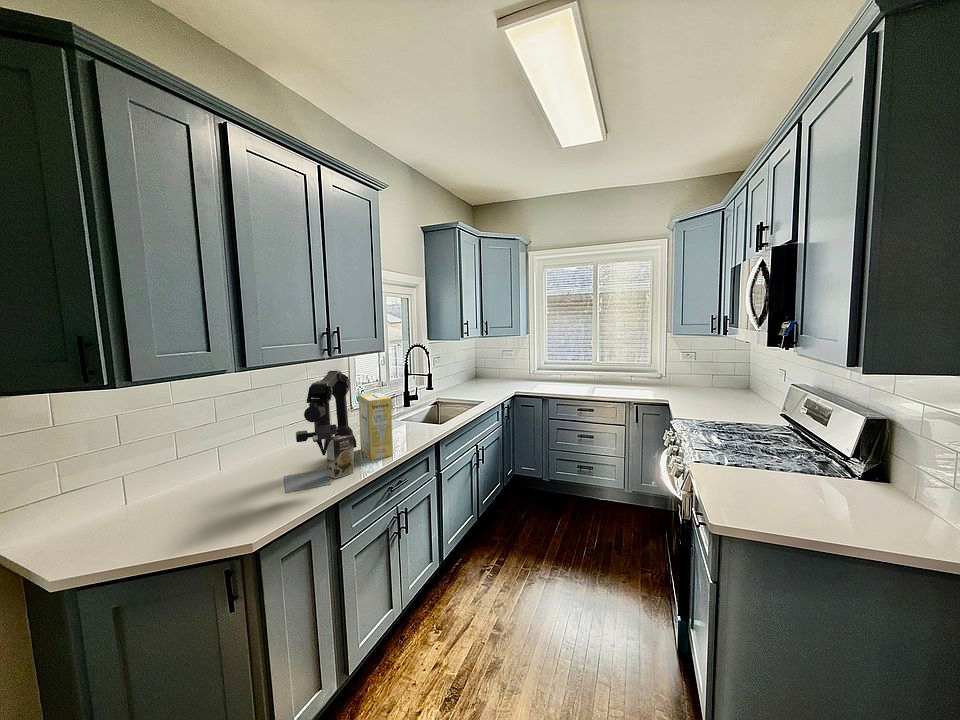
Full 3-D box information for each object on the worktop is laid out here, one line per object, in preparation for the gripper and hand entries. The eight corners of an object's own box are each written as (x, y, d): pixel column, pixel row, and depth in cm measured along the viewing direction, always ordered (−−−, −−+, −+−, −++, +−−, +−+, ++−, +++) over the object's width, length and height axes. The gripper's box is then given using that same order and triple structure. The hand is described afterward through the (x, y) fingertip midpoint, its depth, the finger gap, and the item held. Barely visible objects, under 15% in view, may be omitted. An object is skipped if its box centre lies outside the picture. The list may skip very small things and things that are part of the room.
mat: (284, 476, 166) (284, 475, 166) (325, 469, 173) (325, 469, 173) (285, 492, 150) (285, 492, 150) (330, 484, 157) (330, 483, 157)
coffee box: (335, 479, 162) (334, 440, 161) (326, 475, 166) (325, 437, 164) (354, 473, 169) (354, 435, 168) (345, 469, 173) (345, 433, 172)
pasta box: (360, 449, 201) (358, 394, 198) (381, 445, 206) (379, 392, 203) (371, 459, 185) (368, 400, 182) (392, 455, 191) (391, 398, 188)
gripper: (295, 423, 140) (298, 466, 142) (350, 417, 149) (352, 457, 150) (294, 416, 150) (297, 456, 152) (346, 411, 159) (347, 449, 160)
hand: (323, 455), depth 153 cm, fingers closed
